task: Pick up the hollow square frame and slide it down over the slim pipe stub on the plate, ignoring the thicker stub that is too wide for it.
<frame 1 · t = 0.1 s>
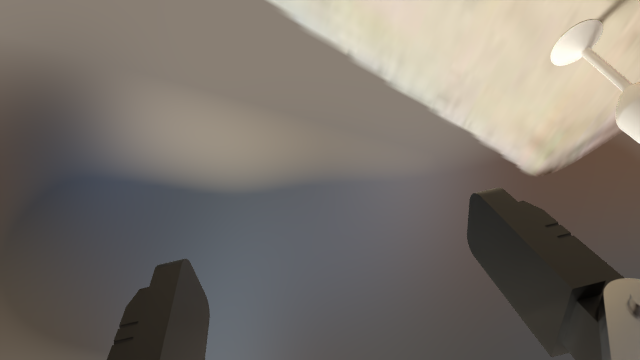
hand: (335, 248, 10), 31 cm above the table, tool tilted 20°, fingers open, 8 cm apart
champagne flute: (575, 42, 48), on the table
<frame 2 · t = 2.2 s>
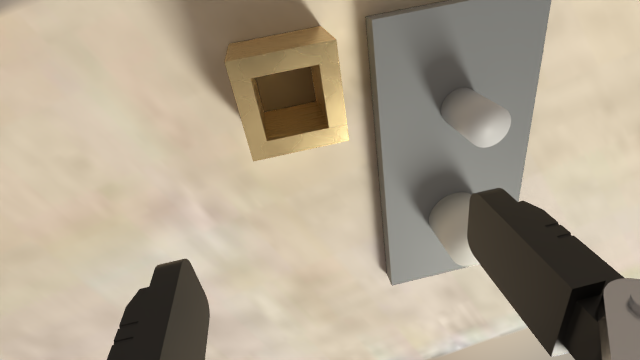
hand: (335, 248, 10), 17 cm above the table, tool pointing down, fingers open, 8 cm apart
hollow square frame: (284, 80, 25), on the table
stub plate: (447, 157, 30), on the table
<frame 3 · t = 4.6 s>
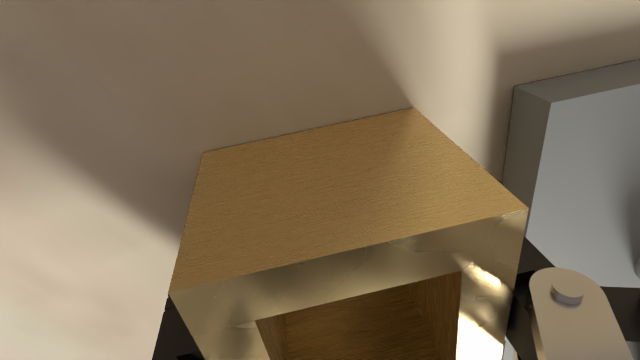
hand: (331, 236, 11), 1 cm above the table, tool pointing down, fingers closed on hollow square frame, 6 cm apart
hollow square frame: (326, 214, 12), on the table, touching gripper
stub plate: (602, 308, 17), on the table
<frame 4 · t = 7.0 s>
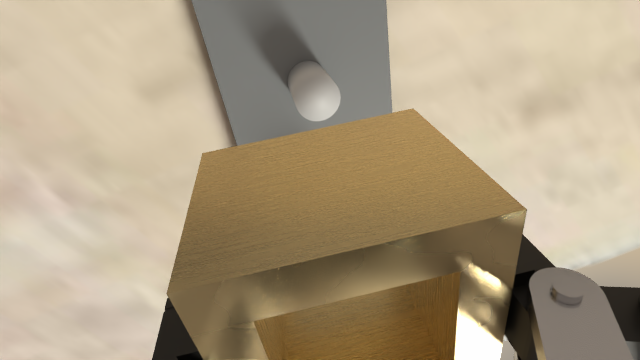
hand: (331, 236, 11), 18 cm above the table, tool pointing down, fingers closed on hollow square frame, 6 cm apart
hollow square frame: (325, 215, 12), point 17 cm above the table, touching gripper
stub plate: (315, 136, 29), on the table
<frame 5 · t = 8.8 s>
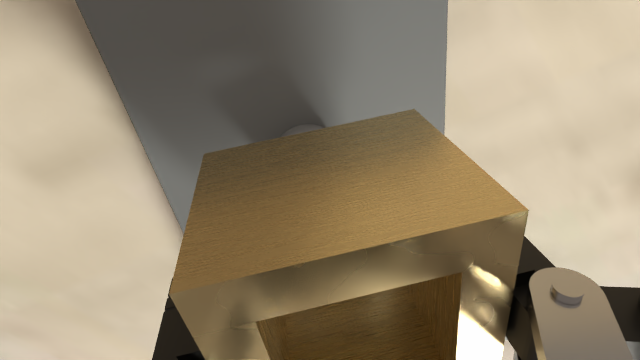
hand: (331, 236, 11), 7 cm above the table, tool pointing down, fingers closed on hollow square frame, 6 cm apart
hollow square frame: (326, 215, 12), point 6 cm above the table, touching gripper
stub plate: (319, 226, 19), on the table
when the fingers open (4 cm above the table, at t = 9.9 s): hollow square frame stays where it is, resting on stub plate.
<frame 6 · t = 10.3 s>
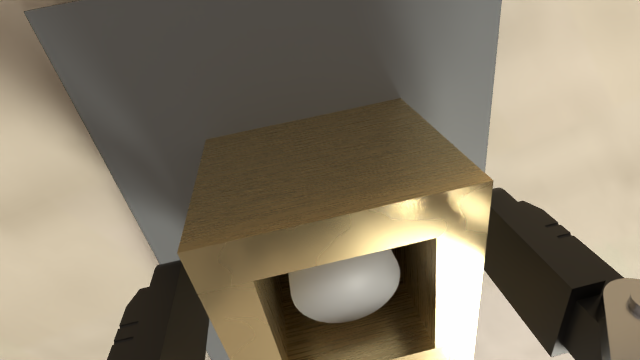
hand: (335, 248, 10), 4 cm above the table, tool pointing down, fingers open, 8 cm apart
hollow square frame: (320, 199, 13), point 1 cm above the table, touching stub plate
stub plate: (332, 269, 16), on the table
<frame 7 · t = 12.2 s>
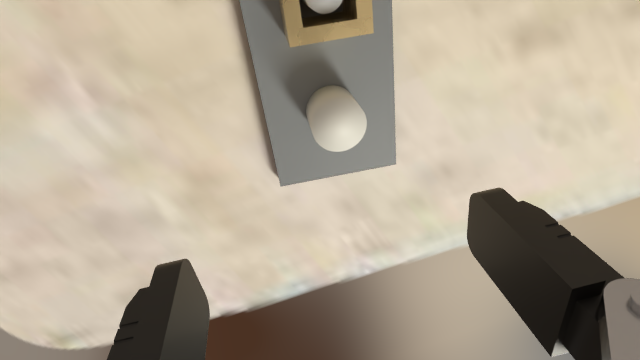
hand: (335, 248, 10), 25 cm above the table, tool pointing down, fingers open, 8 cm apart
stub plate: (321, 50, 32), on the table
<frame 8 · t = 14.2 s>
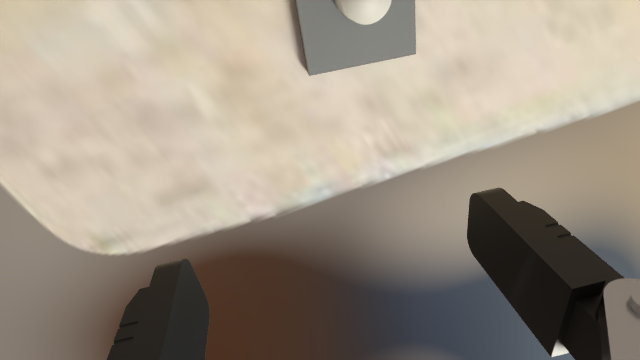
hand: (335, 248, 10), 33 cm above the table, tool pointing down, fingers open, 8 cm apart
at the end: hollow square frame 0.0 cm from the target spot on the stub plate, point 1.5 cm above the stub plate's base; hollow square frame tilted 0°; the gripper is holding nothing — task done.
